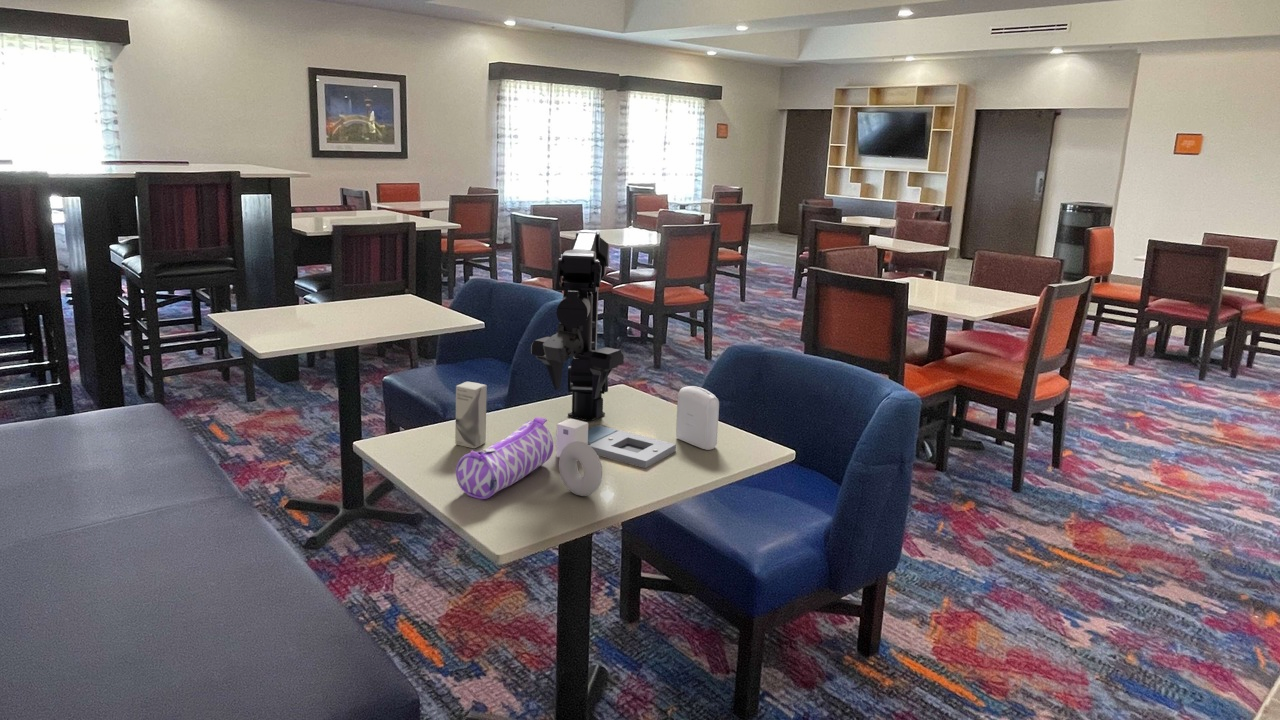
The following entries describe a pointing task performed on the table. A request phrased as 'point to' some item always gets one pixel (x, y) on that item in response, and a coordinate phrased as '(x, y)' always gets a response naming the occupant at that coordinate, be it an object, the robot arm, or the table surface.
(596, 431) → the phone
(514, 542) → the table surface
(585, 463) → the donut
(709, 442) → the photo printer
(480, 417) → the box
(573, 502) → the table surface
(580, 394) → the robot arm
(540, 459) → the pencil case
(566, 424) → the block
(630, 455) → the outlet plate
